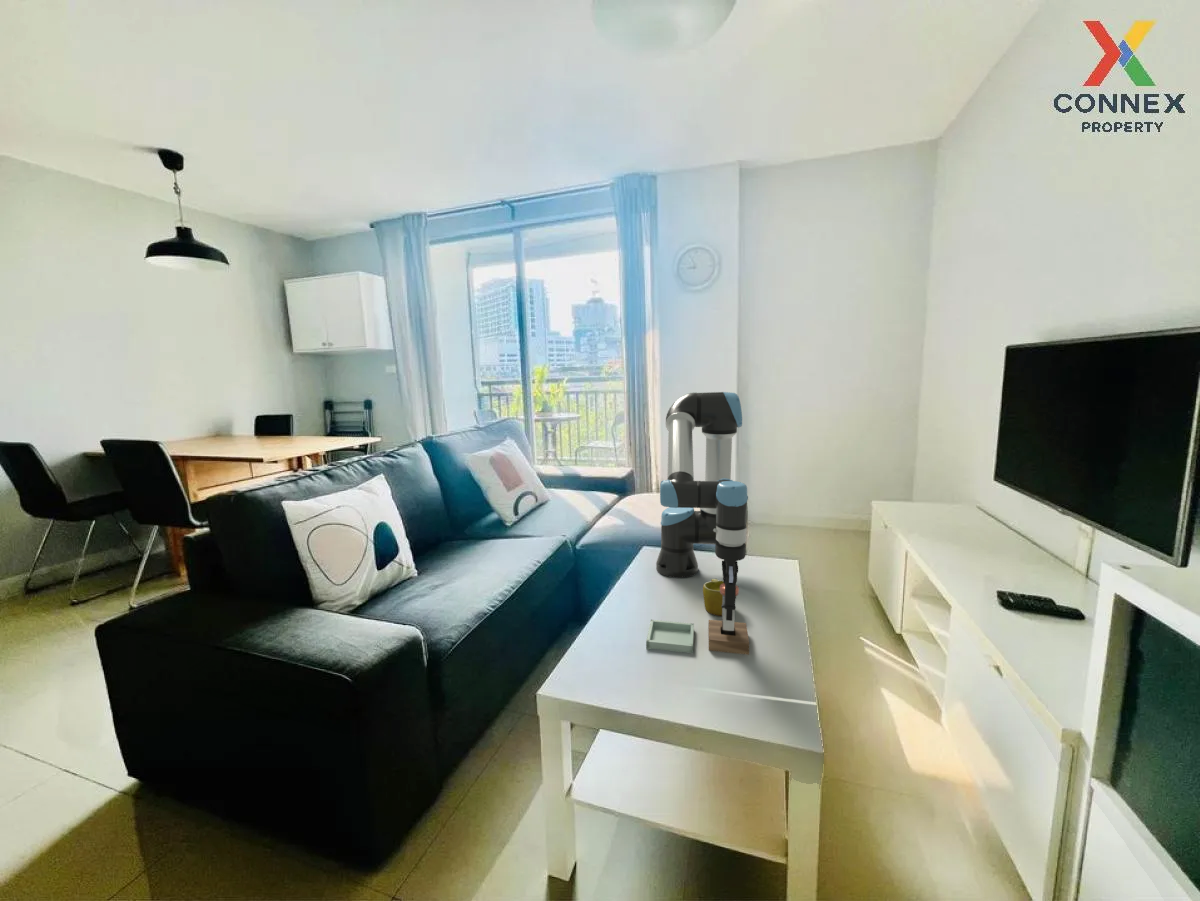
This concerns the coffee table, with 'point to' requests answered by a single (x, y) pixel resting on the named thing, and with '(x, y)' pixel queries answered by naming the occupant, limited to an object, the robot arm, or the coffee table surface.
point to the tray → (670, 636)
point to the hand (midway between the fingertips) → (728, 625)
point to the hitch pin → (722, 591)
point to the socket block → (728, 638)
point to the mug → (713, 597)
